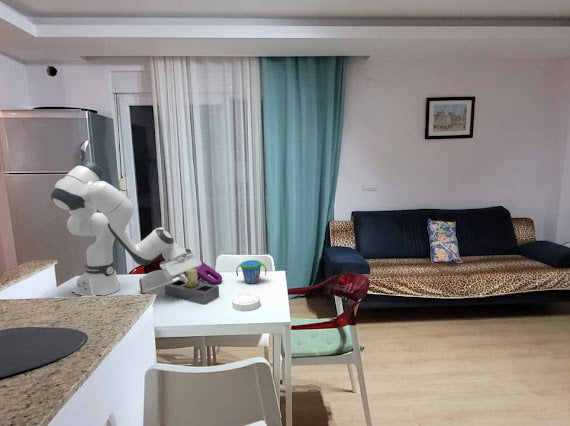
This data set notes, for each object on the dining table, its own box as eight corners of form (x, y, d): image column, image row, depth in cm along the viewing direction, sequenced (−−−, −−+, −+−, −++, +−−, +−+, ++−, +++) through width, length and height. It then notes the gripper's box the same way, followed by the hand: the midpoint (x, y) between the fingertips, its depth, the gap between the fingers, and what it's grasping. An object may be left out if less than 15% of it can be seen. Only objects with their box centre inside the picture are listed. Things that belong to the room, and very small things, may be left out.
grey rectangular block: (165, 295, 164) (164, 285, 163) (181, 288, 172) (180, 278, 171) (204, 304, 152) (204, 293, 151) (219, 296, 161) (218, 286, 160)
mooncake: (231, 312, 144) (230, 304, 144) (233, 300, 156) (233, 293, 156) (260, 311, 145) (259, 302, 145) (260, 299, 157) (259, 292, 156)
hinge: (145, 295, 164) (140, 275, 164) (140, 296, 167) (135, 276, 167) (175, 285, 177) (170, 266, 177) (171, 286, 180) (165, 267, 180)
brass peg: (185, 291, 161) (184, 270, 159) (191, 288, 164) (190, 268, 163) (192, 293, 159) (190, 272, 158) (198, 290, 163) (196, 269, 161)
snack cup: (234, 285, 175) (233, 265, 174) (239, 278, 185) (238, 259, 184) (265, 285, 173) (264, 266, 172) (268, 278, 184) (267, 260, 182)
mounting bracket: (220, 291, 184) (195, 272, 190) (225, 278, 181) (200, 260, 187) (209, 297, 175) (183, 278, 181) (214, 284, 173) (188, 265, 179)
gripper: (161, 258, 153) (178, 283, 150) (193, 248, 171) (210, 269, 168) (154, 267, 156) (172, 291, 153) (187, 255, 174) (203, 277, 171)
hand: (192, 280), depth 161 cm, fingers closed on brass peg, 4 cm apart
